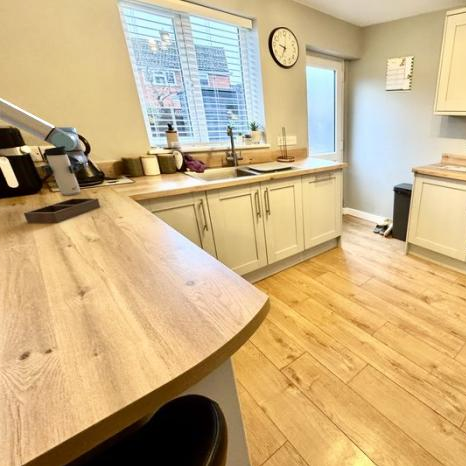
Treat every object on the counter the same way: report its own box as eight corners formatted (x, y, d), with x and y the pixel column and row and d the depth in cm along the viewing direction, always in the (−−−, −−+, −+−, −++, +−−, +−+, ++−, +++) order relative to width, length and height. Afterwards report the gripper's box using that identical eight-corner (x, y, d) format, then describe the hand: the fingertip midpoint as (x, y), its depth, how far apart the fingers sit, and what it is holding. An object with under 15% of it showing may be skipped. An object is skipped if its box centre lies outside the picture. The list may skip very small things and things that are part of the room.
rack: (28, 223, 110) (23, 213, 108) (75, 207, 130) (72, 198, 128) (58, 223, 110) (53, 213, 109) (100, 207, 130) (97, 198, 129)
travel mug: (81, 195, 123) (63, 146, 116) (60, 197, 120) (40, 147, 112) (83, 192, 128) (66, 145, 120) (63, 194, 125) (44, 146, 117)
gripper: (100, 169, 140) (92, 177, 122) (46, 173, 130) (29, 182, 112) (95, 154, 137) (87, 159, 119) (39, 156, 127) (21, 162, 109)
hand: (59, 170), depth 116 cm, fingers closed on travel mug, 6 cm apart
